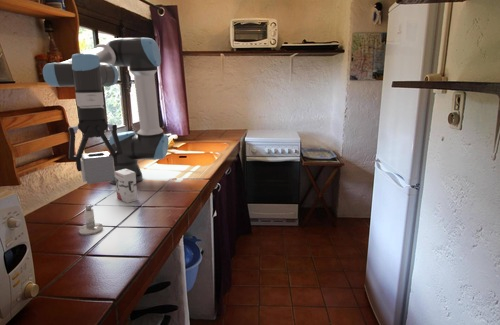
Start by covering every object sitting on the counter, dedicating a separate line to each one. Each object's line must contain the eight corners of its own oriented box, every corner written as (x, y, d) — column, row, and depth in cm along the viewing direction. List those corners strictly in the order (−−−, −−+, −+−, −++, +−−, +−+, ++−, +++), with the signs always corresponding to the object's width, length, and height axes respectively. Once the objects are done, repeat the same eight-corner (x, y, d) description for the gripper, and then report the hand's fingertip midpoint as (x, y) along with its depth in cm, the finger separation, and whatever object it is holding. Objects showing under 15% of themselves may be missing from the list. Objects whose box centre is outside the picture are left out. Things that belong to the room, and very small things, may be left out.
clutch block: (83, 178, 110) (80, 154, 108) (109, 174, 114) (107, 151, 113) (87, 184, 104) (84, 158, 102) (114, 180, 108) (112, 155, 106)
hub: (78, 228, 111) (74, 204, 109) (101, 224, 115) (98, 200, 113) (80, 237, 106) (77, 211, 103) (104, 231, 109) (101, 207, 107)
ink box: (116, 198, 140) (113, 170, 137) (127, 195, 143) (125, 168, 140) (127, 203, 134) (124, 174, 131) (138, 200, 138) (135, 172, 135)
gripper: (52, 109, 95) (63, 186, 100) (129, 106, 106) (135, 176, 111) (50, 107, 101) (61, 180, 107) (123, 104, 112) (129, 171, 117)
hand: (98, 178), depth 109 cm, fingers closed on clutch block, 8 cm apart
